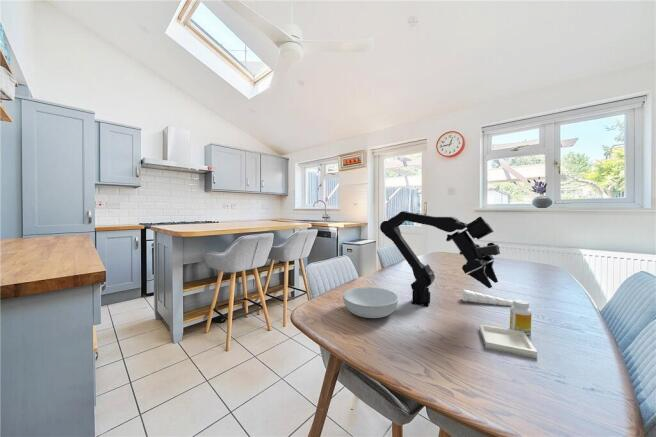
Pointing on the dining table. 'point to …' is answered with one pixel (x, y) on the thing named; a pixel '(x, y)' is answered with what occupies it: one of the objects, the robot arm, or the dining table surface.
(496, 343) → the dish
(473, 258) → the robot arm
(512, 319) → the supplement bottle
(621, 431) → the dining table surface
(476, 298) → the unicorn horn
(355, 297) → the serving bowl
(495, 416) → the dining table surface
